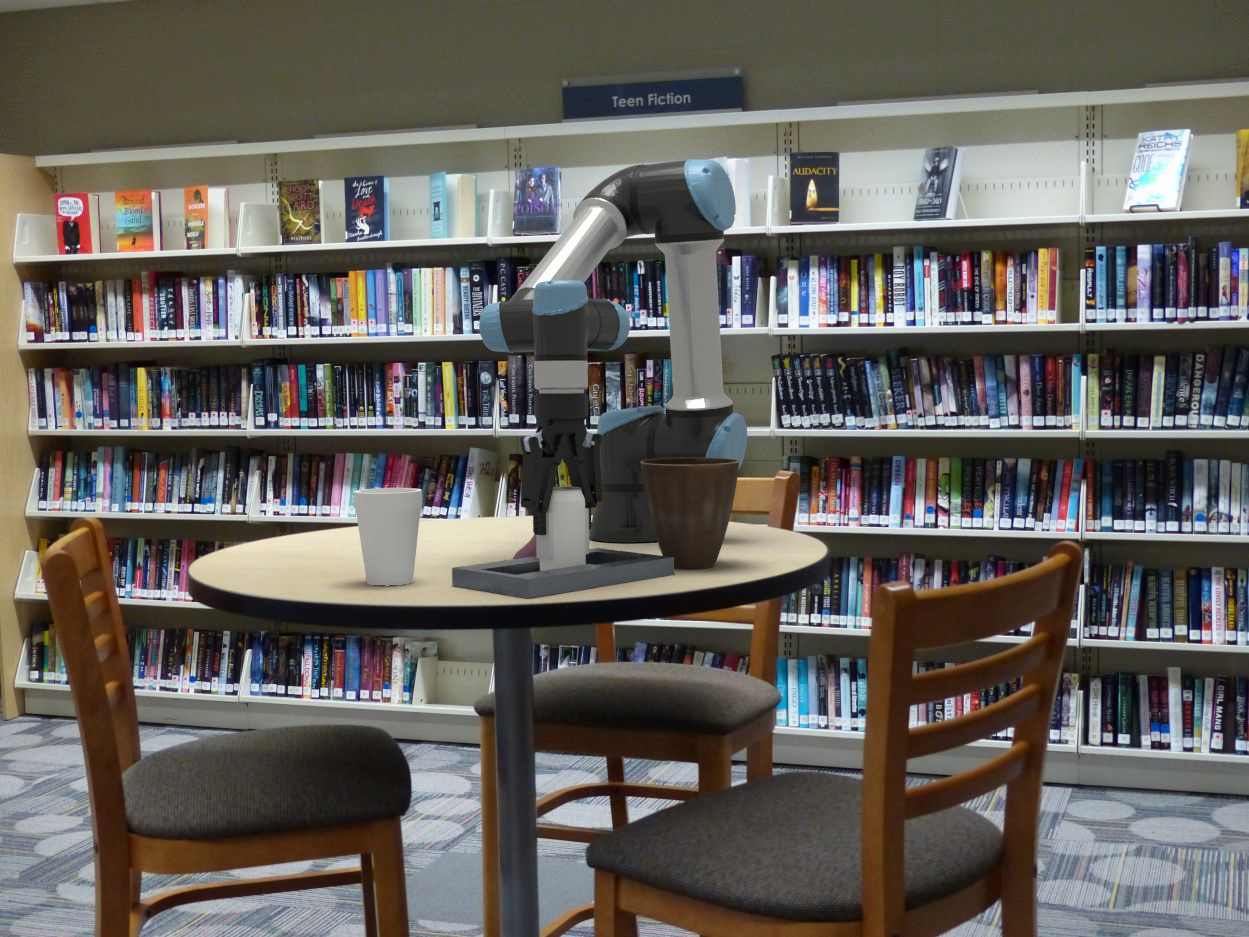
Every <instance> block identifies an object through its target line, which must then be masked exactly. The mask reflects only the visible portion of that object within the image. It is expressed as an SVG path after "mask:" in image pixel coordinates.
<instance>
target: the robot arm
mask: <svg viewBox="0 0 1249 937" xmlns="http://www.w3.org/2000/svg"><path fill="white" fill-rule="evenodd" d="M733 187H734V186H733V185H732V182H731V179H730V177H729V174H728V173H727V172H726V170H725V169H724V167H723V166H722V165H721V164H720V163H719V162H717V161H716V160H713V159H694V158H691V159H686V160H677V161H668V162H659V163H658V162H656V163H648V164H634V165H631V166H627V167H625V168H623V169H620V170H618V171H617V172H615V173H613V174H611V175H609V176H608V177H607V178H605V179H603V180H602V181H601V182H599V183H598V184H597V185H596V186H595V187H593V189H591V190H590V191H589V192H588V193H587V194H586V195H585V196H584V198H582V200H581V201H580V202H579V203H578V205H576V207H575V209H574V211H573V215H572V217H573V218H572V219H573V220H572V221H571V222H570V224H569V225H568V227H566V229H565V230H564V232H563V233H562V234H561V235H560V236H559V237H558V239H557V240H556V241H555V243H554V244H553V245H552V246H551V247H550V249H549V250H548V252H547V253H546V254H545V255H544V257H542V259H541V260H540V261H539V262H538V264H537V265H536V267H535V268H533V270H532V271H531V273H530V274H528V276H527V277H526V279H525V280H524V281H523V282H522V284H521V285H520V287H519V288H518V289H517V291H515V293H513V295H512V297H510V298H509V300H508V301H498V302H493V303H489V304H487V305H485V306H484V307H483V309H482V311H481V314H480V317H479V321H478V322H479V324H478V325H479V326H478V327H479V330H478V331H479V335H480V337H481V339H482V340H481V341H482V342H483V344H484V345H485V347H486V348H488V350H490V351H492V352H497V353H498V352H501V353H502V352H503V353H510V354H514V353H530V352H532V353H533V352H534V355H533V357H534V358H533V359H534V360H533V364H534V365H533V366H534V367H533V369H534V370H533V372H534V373H533V374H534V375H533V377H534V378H533V379H534V382H533V383H534V389H535V390H538V393H536V394H535V395H534V418H535V419H536V420H537V428H536V430H535V433H534V434H532V435H530V436H526V435H525V436H524V435H523V436H521V437H520V438H519V439H520V440H519V442H520V447H521V452H522V466H521V484H520V485H521V487H520V488H521V489H520V490H521V491H520V505H521V507H522V508H526V509H527V511H529V512H532V532H533V536H534V535H536V556H537V558H543V559H554V556H553V512H547V511H548V508H549V504H550V500H551V495H552V491H553V487H555V485H554V484H555V481H556V477H557V473H558V472H557V471H558V467H559V466H560V465H561V464H562V462H563V463H564V464H565V466H566V469H567V473H568V477H569V481H570V485H571V486H570V487H581V488H582V489H581V491H582V494H583V496H584V498H585V547H586V554H589V549H590V540H591V541H598V542H609V543H647V542H649V543H650V542H658V541H657V538H656V535H655V532H654V528H653V525H652V521H651V517H650V513H649V509H648V505H647V500H646V495H645V489H644V484H643V477H642V471H641V463H640V462H641V461H643V460H650V459H662V458H727V459H736V460H739V469H738V471H739V470H740V468H741V466H742V463H743V461H744V459H745V456H746V451H747V445H748V444H747V443H748V427H747V424H746V420H745V418H744V416H743V415H742V414H739V413H737V412H734V402H733V400H732V399H731V398H730V397H728V396H727V394H726V393H725V392H724V378H723V361H722V360H723V359H722V342H721V321H720V320H721V319H720V305H719V287H718V268H717V266H718V265H717V264H718V263H717V250H718V249H719V248H720V247H721V245H722V244H723V243H724V242H725V231H727V230H729V229H730V228H731V227H733V224H734V223H735V215H736V212H737V209H736V208H737V207H736V206H737V205H736V198H735V197H736V196H735V193H734V192H735V191H734V188H733ZM640 235H654V244H655V246H656V247H657V249H659V251H661V252H662V253H663V255H664V260H665V264H664V265H665V274H666V275H665V276H666V279H665V280H666V291H667V292H666V293H667V294H666V295H667V308H668V309H667V310H668V325H669V327H668V328H669V329H668V330H669V340H670V341H669V342H670V343H669V344H670V358H671V362H670V363H671V373H672V374H671V376H672V393H673V395H672V397H671V398H670V399H669V400H668V402H667V403H666V404H665V410H664V409H663V407H662V406H661V405H649V406H647V405H646V406H640V407H631V408H629V407H628V408H623V409H617V410H610V411H607V412H603V413H601V415H600V416H599V417H598V419H597V420H598V421H597V428H596V430H597V431H596V433H592V432H588V430H587V427H586V424H585V421H586V420H587V419H588V418H589V395H587V394H588V393H585V390H587V389H588V387H589V376H588V374H589V372H588V371H589V370H588V369H589V368H588V366H589V365H588V352H589V351H591V352H593V351H595V352H608V351H614V350H616V349H618V348H620V347H621V346H623V344H624V343H625V342H626V341H627V339H628V338H629V337H628V336H629V334H630V329H631V323H630V322H631V320H630V317H629V314H628V312H627V311H626V309H625V308H624V307H623V306H622V305H620V304H619V303H617V302H616V301H611V300H608V298H607V299H606V298H600V299H598V298H589V296H588V289H587V285H586V284H585V283H586V281H587V279H588V278H590V276H591V274H592V273H593V272H594V270H595V269H596V268H597V266H598V265H599V264H600V262H601V261H602V260H603V258H604V257H605V256H606V255H607V253H608V252H609V251H610V250H612V249H615V248H617V247H619V246H620V245H621V244H622V243H623V242H624V240H625V239H627V238H630V237H633V236H640ZM664 411H665V412H664ZM540 501H541V502H540ZM592 509H593V513H592Z"/></svg>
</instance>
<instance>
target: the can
mask: <svg viewBox="0 0 1249 937" xmlns="http://www.w3.org/2000/svg"><path fill="white" fill-rule="evenodd" d="M581 489H582V488H581V487H572V486H563V485H562V486H553V491H552V495H551V500H550V504H549V508H548V511H547V512H553V556H554V559H543V558H540V571H546V570H552V569H559V568H566V567H573V566H579V565H586V547H585V498H584V496H583V494H582V491H581ZM540 502H541V501H540Z"/></svg>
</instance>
